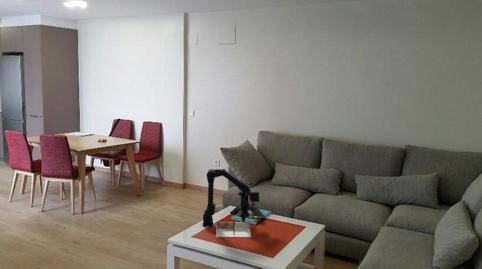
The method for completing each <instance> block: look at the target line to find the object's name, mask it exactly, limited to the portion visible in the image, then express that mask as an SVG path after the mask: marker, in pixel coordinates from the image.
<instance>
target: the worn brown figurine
mask: <svg viewBox="0 0 482 269" xmlns="http://www.w3.org/2000/svg"><path fill="white" fill-rule="evenodd" d="M249 201H250V200H249ZM251 203H254V206H256V210H255V212H253V211H250V212H251V215H250V214H249V215H250V216H261V217H263V218H264V219H265V214H264V213H263V212H262V211H261V209H260V208H259V207H258V205H257V202H251V201H250V202H249V204H251Z"/></svg>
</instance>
